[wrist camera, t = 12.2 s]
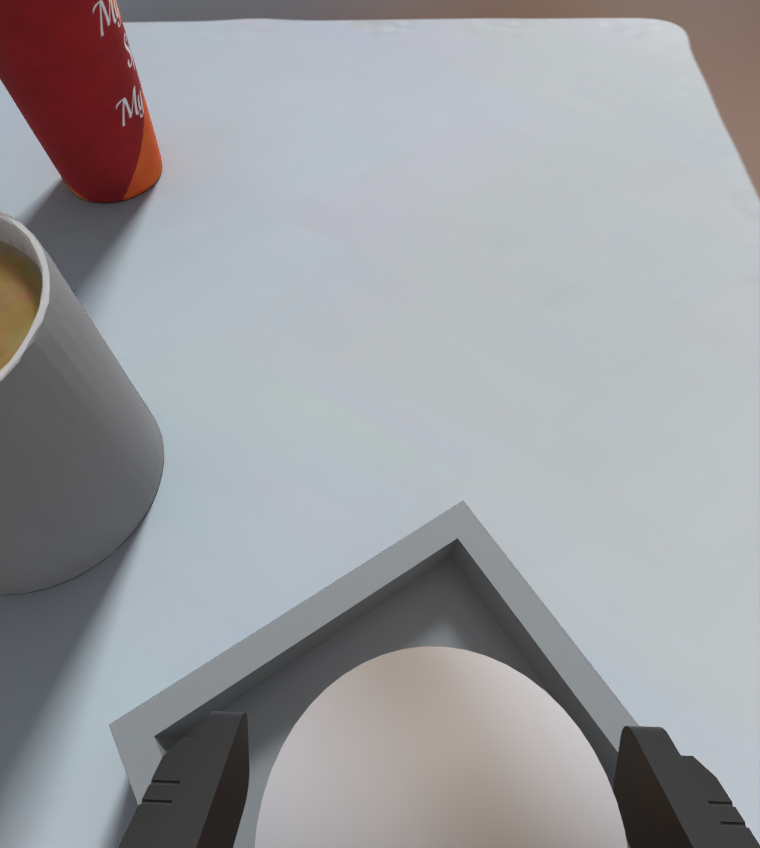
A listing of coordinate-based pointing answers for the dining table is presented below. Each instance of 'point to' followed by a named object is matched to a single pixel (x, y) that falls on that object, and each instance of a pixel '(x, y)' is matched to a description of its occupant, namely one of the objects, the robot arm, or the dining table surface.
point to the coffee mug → (63, 428)
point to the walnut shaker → (437, 763)
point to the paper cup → (80, 94)
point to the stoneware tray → (377, 652)
